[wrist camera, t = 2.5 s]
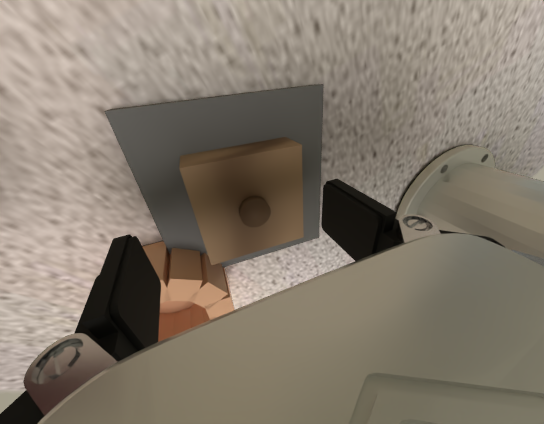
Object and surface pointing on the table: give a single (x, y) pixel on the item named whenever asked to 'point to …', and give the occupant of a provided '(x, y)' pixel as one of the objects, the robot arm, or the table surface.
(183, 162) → the lid
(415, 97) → the table surface
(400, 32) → the table surface
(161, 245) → the bowl
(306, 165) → the mat
